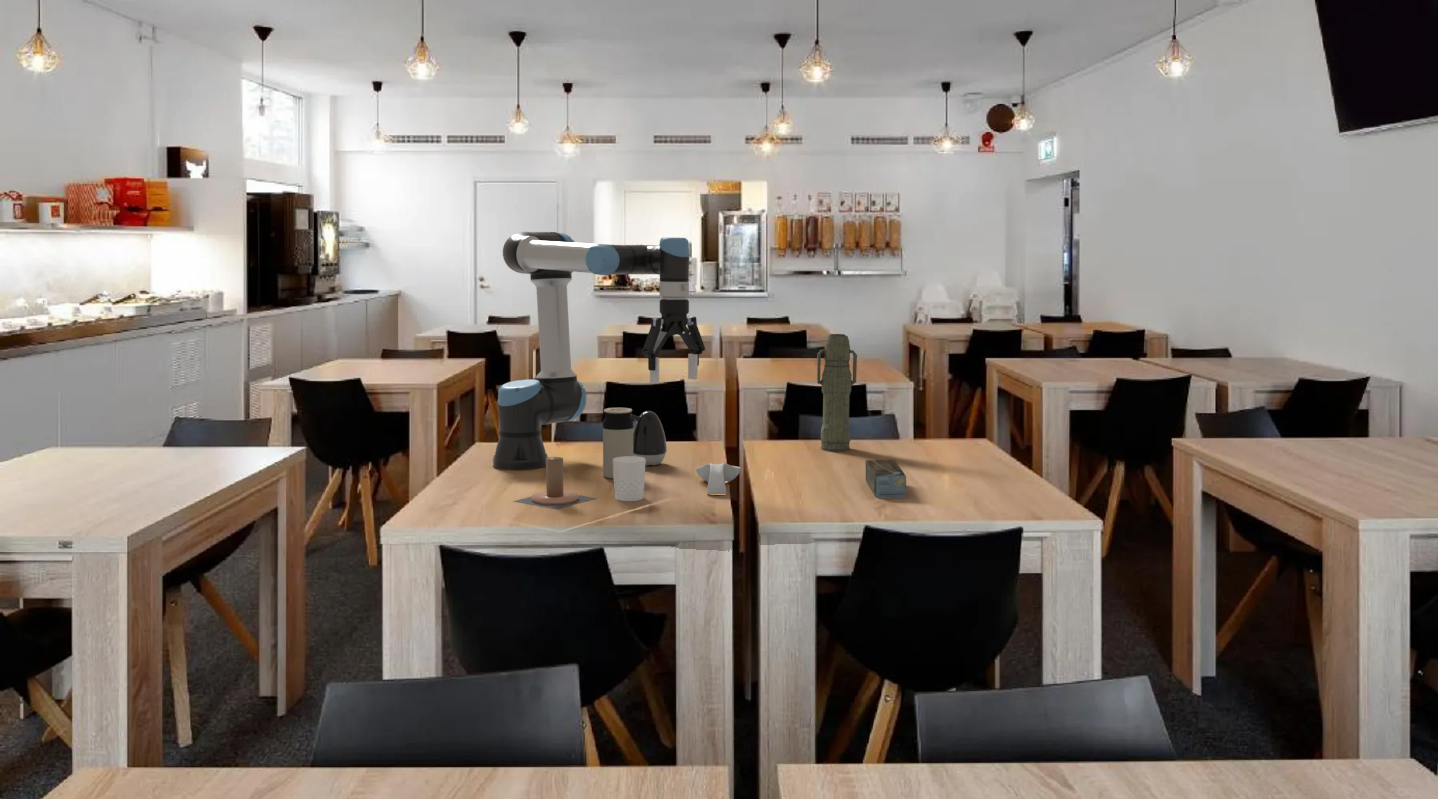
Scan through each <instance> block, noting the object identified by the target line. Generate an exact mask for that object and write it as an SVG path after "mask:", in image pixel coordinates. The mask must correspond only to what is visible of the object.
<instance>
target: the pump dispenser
mask: <svg viewBox="0 0 1438 799" xmlns="http://www.w3.org/2000/svg"><path fill="white" fill-rule="evenodd" d="M630 417H631V419H632V420H633V421H635V425H634V426H633V456H636V457H643V458H645V459H646V462H645V465H646V466H645V467H648V466H647V465H655V466H657V465H659V464H661V463H662V462H663V461H664V459H665V457H666V454H667V451H668V449H667V448H668V447H667V441H666V440H667V439H666V435H665V431H664V427H663V424H662V422H661V419H660V418H659V416H658V415H657V414H656V412H653V411H651V410H646V411H643V412H642V413H641V414H640V415H639V416H638V415H635V414H631V416H630Z"/></svg>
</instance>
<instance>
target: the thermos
mask: <svg viewBox="0 0 1438 799" xmlns="http://www.w3.org/2000/svg"><path fill="white" fill-rule="evenodd" d="M822 354H824V366H823V367H824V368H823V370H822V371H823V372H822V373H821V355H822ZM851 355H852V356H853V357H852V360H853V361H852V372H851V366H850V361H851ZM816 358H817V360H816V373H817V374H816V382H817V384H819V385H821V393H822V395H823V396H822V402H823V403H822V425H821V429H820V441H821V447H820V449H821V450H822V451H825V452H837V453H838V452H847V451H850V443H851V428H850V423H849V422H850V395H851V392H852V386H853V385H854V384H856V383H857V368H858V367H857V363H858V359H857V358H858V354H857V353H856V352H855V351H854V349H853V350H852V349H851V344H850V340H849V337H848V335H846V334H844V333H831V334H829V335H827V337H826V339H825V343H824V348H822V349H820V350H819V352H817V357H816Z"/></svg>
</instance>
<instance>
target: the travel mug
mask: <svg viewBox="0 0 1438 799" xmlns="http://www.w3.org/2000/svg"><path fill="white" fill-rule="evenodd" d="M632 412H633V409H632V408H628V407H608V408H604V409H603V413H604V416H605V417H604V419H603V421H602V465H603V466H602V467H603V468H602V469H603V470H602V474H603V477H604V478H607V479H611V480H614V477H613V459H614V458H617V457H624V456H633V431H634V420H633V419H632V418H631V417H630V416H631V415H632Z"/></svg>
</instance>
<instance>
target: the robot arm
mask: <svg viewBox="0 0 1438 799" xmlns="http://www.w3.org/2000/svg"><path fill="white" fill-rule="evenodd" d="M689 243H690V242H689V240H688V239H687V237H686V238H685V237H661V238H660V240H659V244H658V245H654V244H650V245H649V244H607V243H606V244H605V243H604V244H603V243H589V242H588V243H587V242H575V241H574V239H572V237H571V236H570V235H568V234H567V233H563V232H557V231H551V232H550V231H520V232H516V233H514V234H512V235H510V236H509V237H508V238H507V239H506V240H505V242H504V244H503V247H502V257H503V261H504V263H505V265H506V266H507V267H508V268H509V269H510V270H511V271H514V272H516V273H519V274H522V275H523V274H525V275H530V282H531V283H532V284H533V285H534V286H535V288H536V289H535V290H536V303H537V323H538V339H539V340H538V342H539V357H540V358H539V359H540V372H539V373H537V375H536V376H535V379H519V380H513V381H508V382H506V383H504V384H502V385H500V387H499V388H498V394H497V397H498V398H497V404H498V406H497V408H498V412H497V413H498V441H497V444H496V448H495V452H494V453H495V454H494V455H493V457H492V467H494V468H496V469H501V470H511V471H515V470H517V471H518V470H520V471H523V470H524V471H525V470H532V469H533V470H534V469H535V470H536V469H539V468H540V469H541V468H543V467H546V458H549V457H548V456H549V455H548V454H547V453H546V448H545V446H544V441H543V439H542V425H543V426H544V425H550V424H557V423H567V422H569V421H574V420H576V419H578V418H579V417H580V416H581V414H582V413H583V412H584V410H585V408H586V404H587V391H586V388H585V387H584V385H583V383H582V382H580V381H579V380H578V374H576V372H574V371H573V369H572V364H571V363H572V362H571V361H572V360H571V344H570V343H571V341H570V324H569V322H570V321H569V306H568V304H569V303H568V284H569V283H570V282H572V280H573V279H572V278H573V277H572V273H574V272H576V273H586V274H587V273H589V274H593V275H597V276H612V275H613V276H614V275H617V276H619V275H642V276H643V275H658V276H659V298H661V299H660V300H659V313H660V315H661V317H660V318H657V317H652V318H651V321H650V328H649V330H648V333H647V336H646V339H645V342H644V345H643V348H642V350H641V355H642V356H645V357H646V358H648V359H647V363H648V366H647V367H648V368H647V370H648V371H649V384H660V357H658V356H659V354H660V352H661V350H662V349H663V346H665V343H666V342H667V340H668V338H670V337H671V336H676V335H678V336H680V338H681V339H682V340H683V342H684V344H685V346H686V347H687V348H688V350H689V352H690V353H687V354H688V356H687V357H688V358H687V361H688V362H687V363H688V365H687V366H688V367H687V368H688V369H687V372H688V374H687V377H688V378H687V379H690V380H698V373H699V372H698V368H699V365H700V355H702V354H703V352H705V350H706V348H705V343H704V342H703V338H702V335H701V333H700V330H699V327H698V323H697V322H698V321H697V317H696V316H691V315H688V314H689V313H690V301H689V299H687V298H689V297H690V256H691V254H690V244H689Z"/></svg>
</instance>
